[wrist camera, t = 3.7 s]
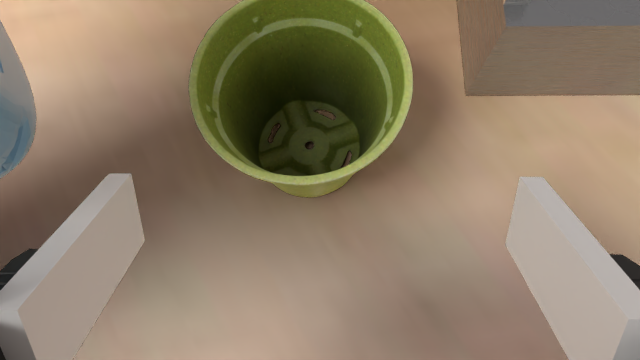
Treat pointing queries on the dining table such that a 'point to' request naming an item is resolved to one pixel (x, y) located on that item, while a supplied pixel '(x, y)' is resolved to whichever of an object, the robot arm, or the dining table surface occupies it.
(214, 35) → the plant pot
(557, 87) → the gray open-top box
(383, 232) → the dining table surface
